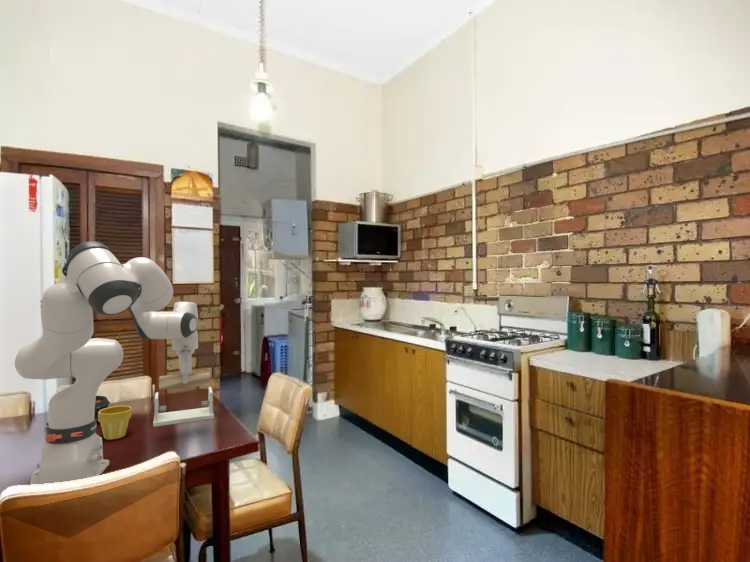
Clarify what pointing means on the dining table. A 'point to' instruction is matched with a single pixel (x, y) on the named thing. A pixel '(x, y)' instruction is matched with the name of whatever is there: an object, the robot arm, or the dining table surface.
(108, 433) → the plant pot
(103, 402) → the casserole
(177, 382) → the pine batten
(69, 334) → the robot arm
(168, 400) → the dining table surface
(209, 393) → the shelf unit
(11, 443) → the dining table surface
